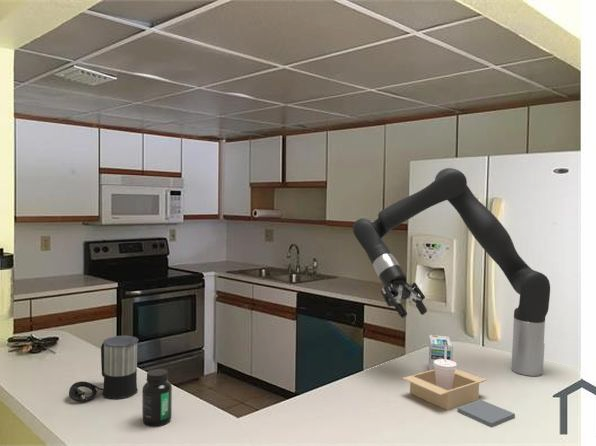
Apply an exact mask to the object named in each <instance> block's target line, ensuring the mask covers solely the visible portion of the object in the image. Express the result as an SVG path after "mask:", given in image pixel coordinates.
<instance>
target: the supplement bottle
mask: <svg viewBox="0 0 596 446" xmlns="http://www.w3.org/2000/svg"><path fill="white" fill-rule="evenodd" d="M168 373H169V372H168V370H166V369H162V368H156V369H151V370H149V371H148V372H147V373H146V382H145V384H144V385H143V386H142V397H141V398H142V401H141V402H142V403H141V405H142V408H141V409H142V411H141V414H142V415H141V416H142V423H143V424H144V425H145V426H147V427H154V428H156V427H162V426H165V425H168V423H170V421H171V419H172V412H173V411H172V409H173V408H172V406H173V404H172V403H173V401H172V400H173V397H172V396H173V387H172V383H171V382H170V381H168V380H169V376H168V375H169V374H168Z"/></svg>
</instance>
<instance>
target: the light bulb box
mask: <svg viewBox="0 0 596 446" xmlns="http://www.w3.org/2000/svg"><path fill="white" fill-rule="evenodd" d="M428 341H429V342H428V369H429V370H428V371H430V370H434V369H435V366H434V365H433V364H434V360H437V359H444V355H445V347H447V356H446V359H447V360H451V361H453V356H454V355H453V353H454V345H453V343H452V340H451V336H445V335H444V336H443V335H435V334H434V335H433V334H429V339H428Z"/></svg>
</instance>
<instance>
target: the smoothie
mask: <svg viewBox="0 0 596 446" xmlns="http://www.w3.org/2000/svg"><path fill="white" fill-rule="evenodd" d="M446 356H447V347H445V355H444V359H437V360H434V364H433V365H434V366H435V379H436V386H438V387H441V388H443V389H445V390H451V389H452V386H453V380H454V375H455V369H457V368H458V365H457V362H456V361H453V360H452V361H451V360H447V359H446Z"/></svg>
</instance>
